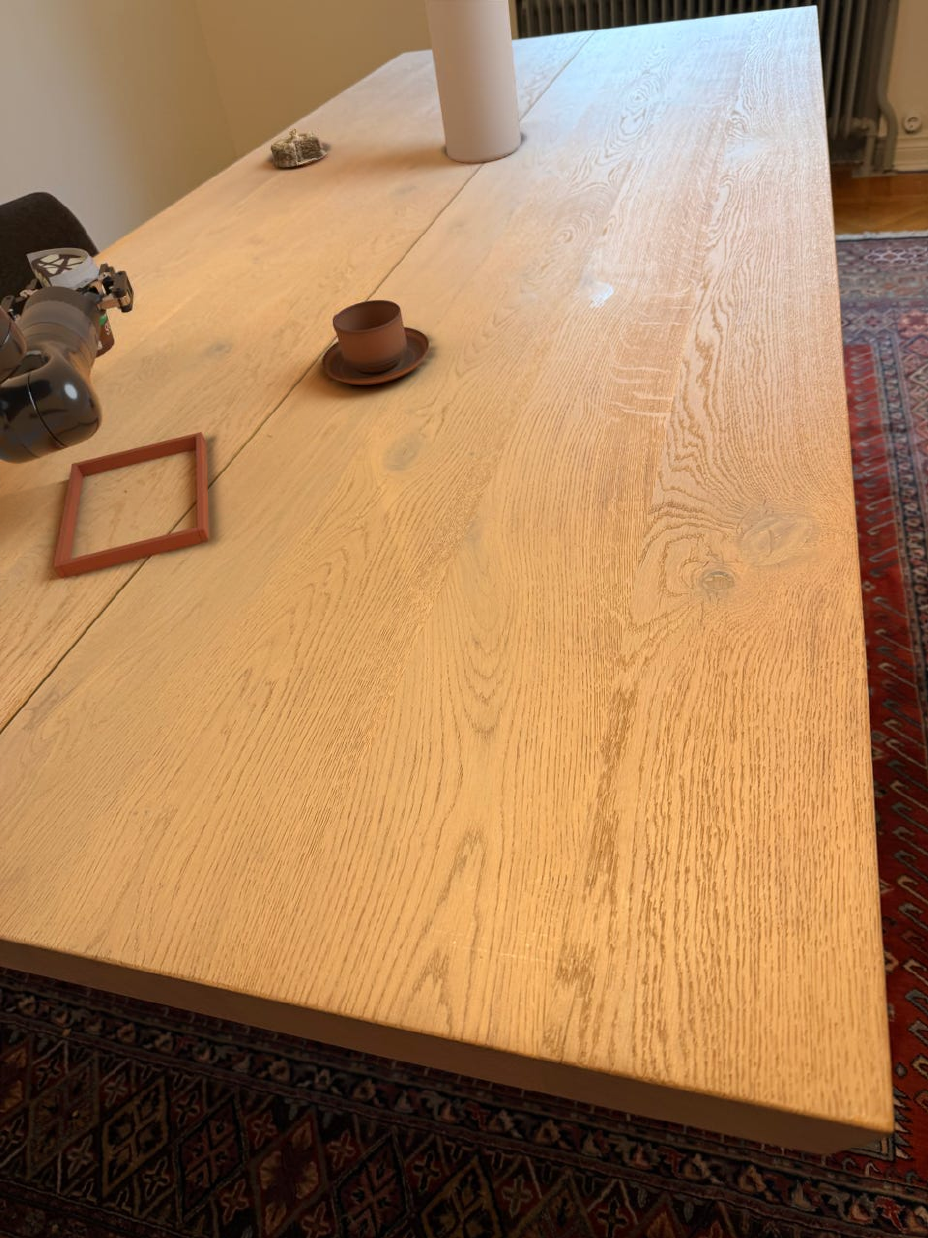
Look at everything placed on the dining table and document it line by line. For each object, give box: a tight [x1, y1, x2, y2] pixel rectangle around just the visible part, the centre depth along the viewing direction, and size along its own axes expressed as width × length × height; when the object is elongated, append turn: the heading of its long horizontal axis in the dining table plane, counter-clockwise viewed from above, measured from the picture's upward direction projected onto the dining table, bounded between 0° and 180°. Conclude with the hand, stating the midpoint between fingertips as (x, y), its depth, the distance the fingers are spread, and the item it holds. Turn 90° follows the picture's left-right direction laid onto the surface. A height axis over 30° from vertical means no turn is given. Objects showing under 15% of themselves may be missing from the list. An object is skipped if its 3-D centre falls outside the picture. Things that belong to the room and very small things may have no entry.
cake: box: [270, 128, 328, 168], centre depth 163 cm, size 10×10×5 cm
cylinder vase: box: [424, 0, 522, 164], centre depth 144 cm, size 12×12×25 cm
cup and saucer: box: [321, 299, 430, 386], centre depth 99 cm, size 12×12×6 cm
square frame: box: [53, 431, 210, 580], centre depth 86 cm, size 13×17×2 cm
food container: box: [26, 247, 116, 360], centre depth 104 cm, size 12×6×10 cm, turn 34°
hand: (73, 279), depth 104 cm, fingers closed on food container, 7 cm apart
